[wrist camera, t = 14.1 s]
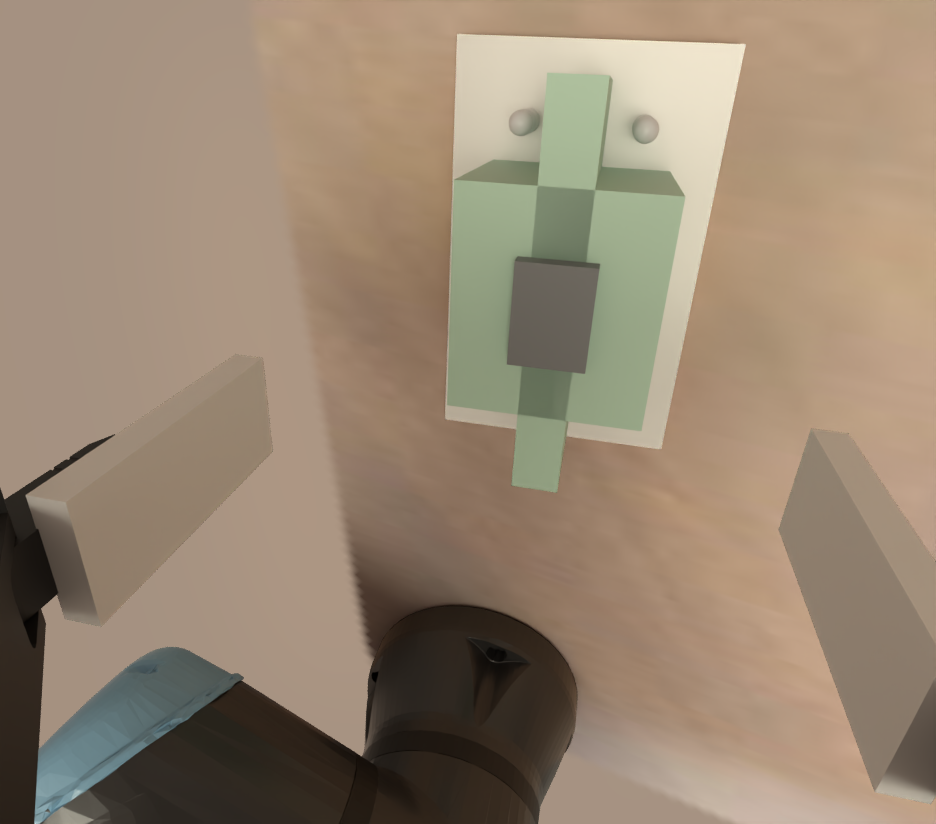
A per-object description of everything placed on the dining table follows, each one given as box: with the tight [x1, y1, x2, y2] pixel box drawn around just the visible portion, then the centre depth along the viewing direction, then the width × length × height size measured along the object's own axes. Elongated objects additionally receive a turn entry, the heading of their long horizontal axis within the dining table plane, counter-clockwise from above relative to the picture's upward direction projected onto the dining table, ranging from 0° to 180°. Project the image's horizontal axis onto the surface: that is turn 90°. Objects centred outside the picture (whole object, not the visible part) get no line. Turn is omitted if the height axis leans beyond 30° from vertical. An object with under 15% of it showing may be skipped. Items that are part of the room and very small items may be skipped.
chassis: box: [445, 34, 746, 450], centre depth 30 cm, size 19×12×5 cm, turn 177°
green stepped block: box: [447, 73, 685, 493], centre depth 27 cm, size 16×8×9 cm, turn 177°
